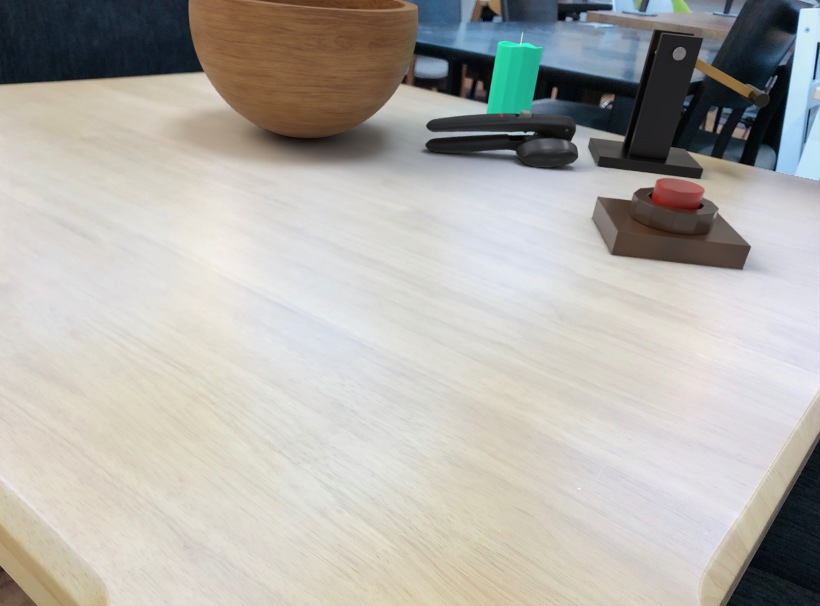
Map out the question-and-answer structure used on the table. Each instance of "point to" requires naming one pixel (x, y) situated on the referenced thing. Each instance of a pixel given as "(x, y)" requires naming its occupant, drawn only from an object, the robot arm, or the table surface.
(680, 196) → the button
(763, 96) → the lever
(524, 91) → the candle
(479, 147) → the can opener
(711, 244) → the button block
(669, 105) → the bracket
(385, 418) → the table surface
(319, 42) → the bowl
